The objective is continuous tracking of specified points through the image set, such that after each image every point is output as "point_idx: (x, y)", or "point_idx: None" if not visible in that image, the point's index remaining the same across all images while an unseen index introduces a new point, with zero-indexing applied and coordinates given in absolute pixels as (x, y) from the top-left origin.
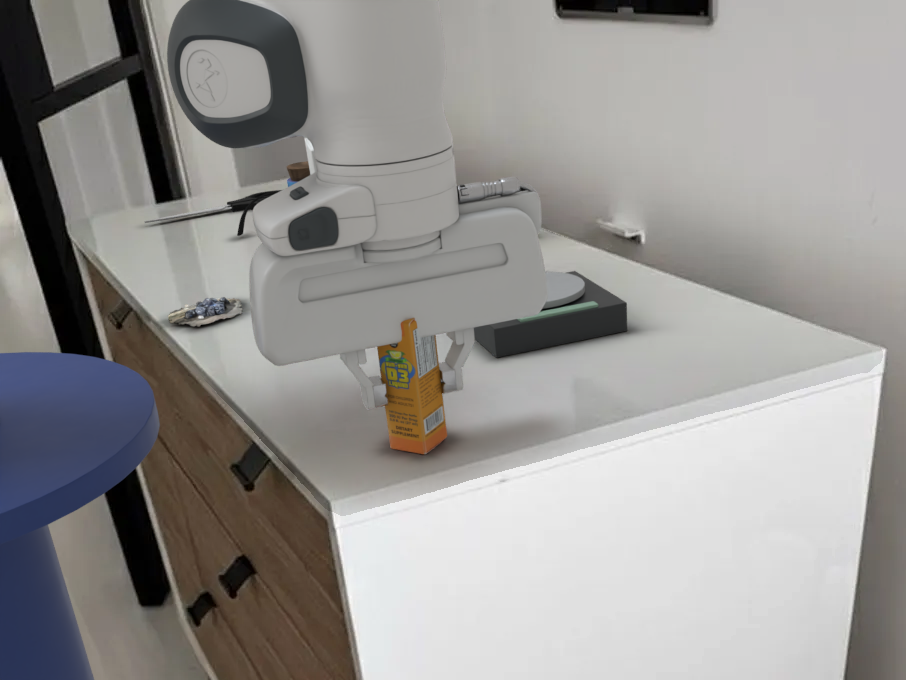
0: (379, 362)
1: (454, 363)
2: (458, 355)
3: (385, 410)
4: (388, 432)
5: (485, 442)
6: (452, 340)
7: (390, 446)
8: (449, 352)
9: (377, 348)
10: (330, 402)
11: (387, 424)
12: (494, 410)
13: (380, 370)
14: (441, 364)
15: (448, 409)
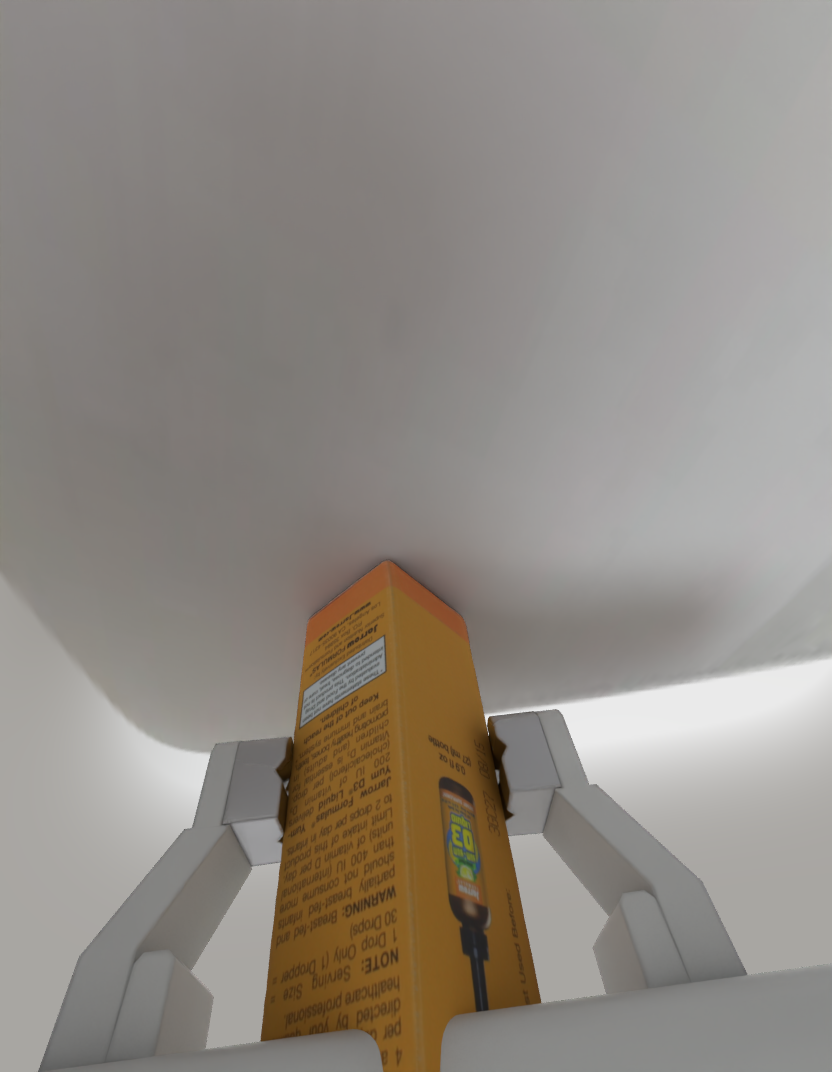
0: (275, 919)
1: (557, 850)
2: (582, 883)
3: (296, 719)
4: (303, 658)
5: (534, 652)
6: (601, 934)
7: (307, 624)
8: (586, 826)
9: (265, 1000)
10: (48, 31)
11: (301, 677)
12: (663, 501)
13: (279, 878)
14: (531, 797)
15: (554, 432)
